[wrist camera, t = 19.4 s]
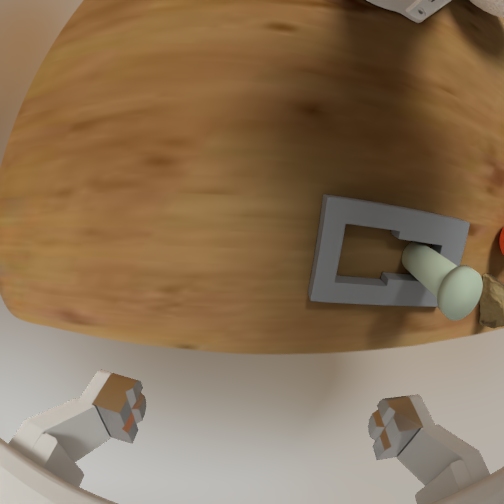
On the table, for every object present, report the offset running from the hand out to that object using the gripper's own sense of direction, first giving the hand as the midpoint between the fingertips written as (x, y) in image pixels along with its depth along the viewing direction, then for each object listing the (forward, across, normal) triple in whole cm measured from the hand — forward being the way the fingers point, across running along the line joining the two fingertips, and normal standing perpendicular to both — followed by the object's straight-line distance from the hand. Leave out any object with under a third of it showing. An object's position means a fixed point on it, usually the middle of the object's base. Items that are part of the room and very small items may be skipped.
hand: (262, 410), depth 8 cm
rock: (+27, -41, +8) cm, 50 cm away
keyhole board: (+27, -18, +2) cm, 32 cm away
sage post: (+27, -21, +2) cm, 34 cm away
